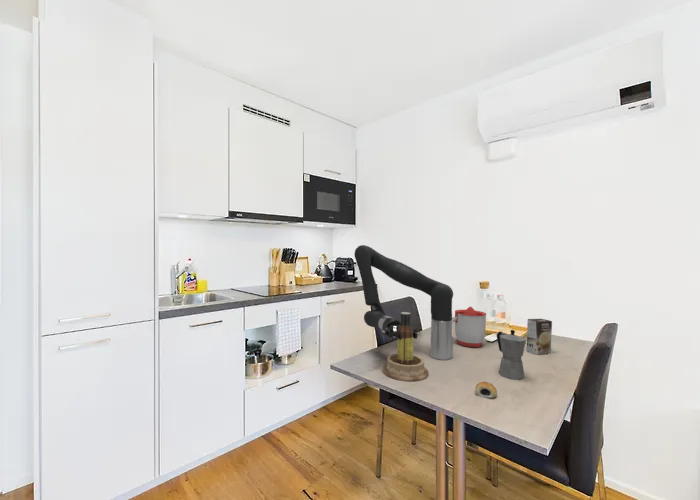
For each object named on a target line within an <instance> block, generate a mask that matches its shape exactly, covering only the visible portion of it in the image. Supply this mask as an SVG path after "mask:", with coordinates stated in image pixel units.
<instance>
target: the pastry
mask: <svg viewBox="0 0 700 500" xmlns="http://www.w3.org/2000/svg"><path fill="white" fill-rule="evenodd" d="M474 392H475V394H476V395H477V396H479V397H480V398H488V399H495V398H496V397H497V396H498V391H497V387H495V386H494V384H493V383H491V382H488V381H480V382H478V383H477V384H476V385H475V391H474Z"/></svg>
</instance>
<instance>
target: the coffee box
mask: <svg viewBox="0 0 700 500" xmlns="http://www.w3.org/2000/svg"><path fill="white" fill-rule="evenodd" d="M526 327H527V328H526V346H525V349H526V350H525V351H526V352H528V351H529V352H528V353H531V354H533V353H534V355H537V356H538V354H540V355H548V354H547V353H551V354H552V331H553V330H552V329H553V328H552V327H553V321H552V320H550V319H546V318H545V319H543V318H527V325H526Z"/></svg>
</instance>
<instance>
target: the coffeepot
mask: <svg viewBox="0 0 700 500" xmlns="http://www.w3.org/2000/svg"><path fill="white" fill-rule="evenodd" d="M509 331H510V334H509V333H508V334H507V333H506V332H503V331H498V332H497V333H496V340H497V345H498V349H499V351H500V352H501V353H502V356H501V359H500V363H499V368H498V373H499V375H501V377H503V378H506V379H509V380H515V381H517V380H518V381H520V380H523V379H525V378H526V375H525V371H524V365H523V364H524V362H523V360H522V357H523V356H524V351H525V349H526V345H527V338H526V339H525V338H524V337H523V336H520V335H517V334H515V333H516V330H514V329H510V330H509Z"/></svg>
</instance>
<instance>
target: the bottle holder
mask: <svg viewBox="0 0 700 500" xmlns="http://www.w3.org/2000/svg"><path fill="white" fill-rule="evenodd" d="M397 357H398V353H392V354H389V355H388V356H387V358H386V363H385V364H384V365H383V366H382V373H383V374H384V375H385V376H386V377H388V378H390V379H394V380H397V381H401V382H420V381H423V380H426V379H427V378H428V377H429V369H428V368H427V367H425V360H424V358H422V357H420V356H418V355H417V354H413V363H412V364H409V365H405V364H401V363H399V362H398V358H397Z"/></svg>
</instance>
